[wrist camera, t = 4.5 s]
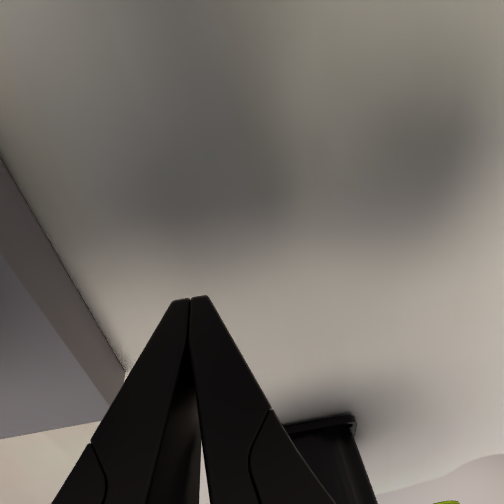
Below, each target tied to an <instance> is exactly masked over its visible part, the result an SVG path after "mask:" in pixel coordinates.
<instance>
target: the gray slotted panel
mask: <svg viewBox="0 0 504 504" xmlns="http://www.w3.org/2000/svg"><path fill="white" fill-rule="evenodd" d="M124 377H125V372H124V370H123V368H122V366H121V365H120V363H119V361H118V360H117V358H116V356H115V354H114V353H113V351H112V349H111V348H110V346H109V344H108V342H107V341H106V339H105V337H104V336H103V334H102V332H101V330H100V329H99V327H98V325H97V324H96V322H95V320H94V318H93V317H92V315H91V313H90V312H89V310H88V308H87V306H86V305H85V303H84V301H83V299H82V298H81V296H80V294H79V293H78V291H77V289H76V287H75V286H74V284H73V282H72V281H71V279H70V277H69V275H68V274H67V272H66V270H65V269H64V267H63V265H62V263H61V262H60V260H59V258H58V257H57V255H56V253H55V251H54V250H53V248H52V246H51V245H50V243H49V241H48V239H47V238H46V236H45V234H44V233H43V231H42V229H41V227H40V226H39V224H38V222H37V221H36V219H35V217H34V215H33V214H32V212H31V210H30V208H29V207H28V205H27V203H26V202H25V200H24V198H23V196H22V195H21V193H20V191H19V190H18V188H17V186H16V184H15V183H14V181H13V179H12V178H11V176H10V174H9V172H8V171H7V169H6V167H5V166H4V164H3V162H2V160H1V159H0V439H4V438H10V437H15V436H20V435H26V434H31V433H37V432H42V431H48V430H53V429H59V428H64V427H69V426H75V425H80V424H86V423H91V422H97V421H102V419H103V418H104V416H105V414H106V413H107V411H108V409H109V408H110V406H111V404H112V402H113V401H114V399H115V397H116V396H117V394H118V392H119V391H120V389H121V387H122V385H123V383H124Z"/></svg>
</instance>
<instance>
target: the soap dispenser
mask: <svg viewBox="0 0 504 504" xmlns="http://www.w3.org/2000/svg"><path fill="white" fill-rule="evenodd" d="M434 504H459V502H458V501H444V502H438V503H434Z"/></svg>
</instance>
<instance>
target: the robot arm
mask: <svg viewBox="0 0 504 504" xmlns="http://www.w3.org/2000/svg"><path fill="white" fill-rule="evenodd" d="M356 427H357V422H356V420H355V417H354V416H352V415H347V416H342V417H337V418H332V419H326V420H321V421H316V422H310V423H305V424H300V425H295V426H289V427H283V426H282V424H281V422H280V421H279V419H278V417H277V415H276V413H275V412H274V410H272V407H271V405H270V403H269V402H268V400H267V398H266V396H265V395H264V393H263V391H262V389H261V388H260V386H259V384H258V382H257V381H256V379H255V377H254V375H253V374H252V372H251V370H250V368H249V367H248V365H247V363H246V361H245V359H244V358H243V356H242V354H241V352H240V351H239V349H238V347H237V345H236V344H235V342H234V340H233V338H232V337H231V335H230V333H229V331H228V330H227V328H226V326H225V324H224V323H223V321H222V319H221V317H220V316H219V314H218V312H217V310H216V309H215V307H214V305H213V303H212V302H211V300H210V298H209V297H208V296H207V295H203V296H197V297H192V298H191V300H190V299H189V298H185V299H179V300H174V301H172V302H171V304H170V306H169V307H168V309H167V311H166V313H165V314H164V316H163V318H162V319H161V321H160V323H159V324H158V326H157V328H156V329H155V331H154V333H153V335H152V336H151V338H150V340H149V341H148V343H147V345H146V346H145V348H144V350H143V352H142V353H141V355H140V357H139V358H138V360H137V362H136V363H135V365H134V367H133V368H132V370H131V372H130V374H129V375H128V377H127V379H126V380H125V382H124V384H123V385H122V387H121V389H120V391H119V392H118V394H117V396H116V397H115V399H114V401H113V402H112V404H111V406H110V408H109V409H108V411H107V413H106V414H105V416H104V418H103V419H102V421H101V423H100V424H99V426H98V428H97V430H96V431H95V433H94V435H93V436H92V438H91V443H89V444H88V445H87V446H86V448H85V450H84V451H83V453H82V455H81V456H80V458H79V460H78V461H77V463H76V465H75V466H74V468H73V470H72V471H71V473H70V475H69V476H68V478H67V479H66V481H65V483H64V484H63V486H62V487H61V489H60V491H59V492H58V494H57V496H56V497H55V499H54V500H53V502H52V503H51V504H199V489H200V462H201V440H202V447H203V454H204V462H205V469H206V476H207V484H208V491H209V498H210V504H378V503H377V500H376V497H375V495H374V492H373V489H372V486H371V483H370V481H369V478H368V475H367V472H366V470H365V467H364V464H363V461H362V459H361V456H360V453H359V450H358V448H357V445H356V442H355V439H354V436H355V432H356Z"/></svg>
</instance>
